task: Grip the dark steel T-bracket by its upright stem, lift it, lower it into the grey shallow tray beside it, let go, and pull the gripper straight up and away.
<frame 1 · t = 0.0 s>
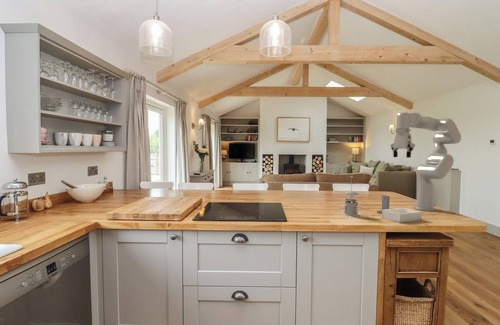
hand: (401, 157, 174), 37 cm above the countertop, tool pointing down, fingers open, 9 cm apart
french press: (350, 214, 167), on the countertop
steel bracket: (385, 213, 172), on the countertop
grey shallow tray: (401, 219, 157), on the countertop
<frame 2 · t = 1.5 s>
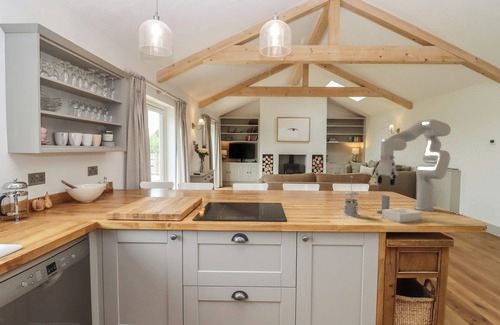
hand: (385, 184, 171), 19 cm above the countertop, tool pointing down, fingers open, 9 cm apart
nothing on the countertop moved.
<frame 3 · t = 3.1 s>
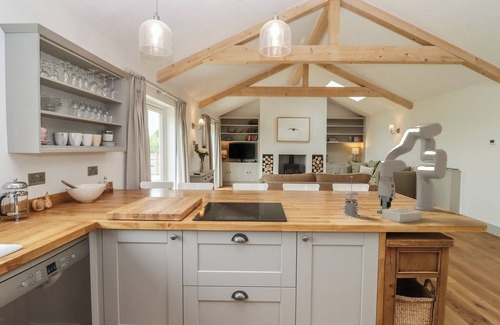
hand: (385, 206, 172), 4 cm above the countertop, tool pointing down, fingers closed on steel bracket, 4 cm apart
steel bracket: (385, 213, 172), on the countertop, touching gripper
everything else where it was.
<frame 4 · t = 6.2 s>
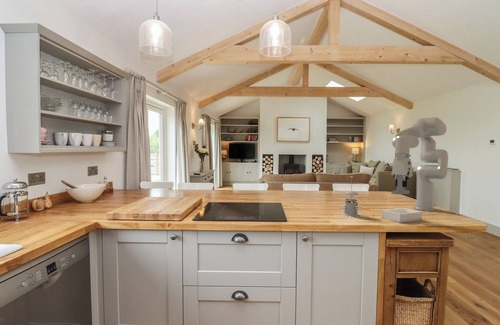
hand: (401, 186, 157), 20 cm above the countertop, tool pointing down, fingers closed on steel bracket, 4 cm apart
steel bracket: (400, 193, 157), point 15 cm above the countertop, touching gripper
everything else where it was.
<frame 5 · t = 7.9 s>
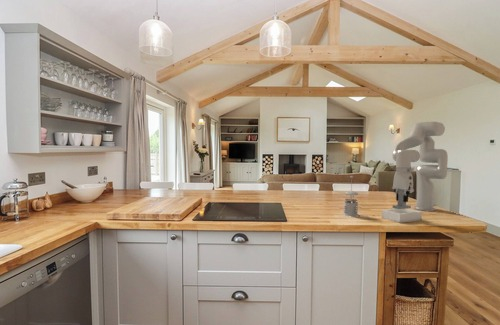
hand: (401, 200, 156), 11 cm above the countertop, tool pointing down, fingers closed on steel bracket, 4 cm apart
steel bracket: (401, 208, 156), point 7 cm above the countertop, touching gripper
everything else where it was.
when the fingers open (7 cm above the countertop, at t = 9.0 s): steel bracket drops 1 cm, resting on grey shallow tray.
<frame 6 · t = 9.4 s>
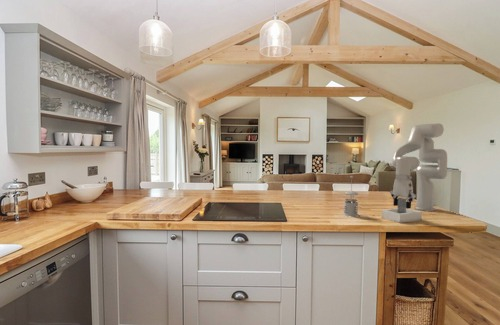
hand: (401, 206, 157), 7 cm above the countertop, tool pointing down, fingers open, 7 cm apart
steel bracket: (401, 217, 157), point 1 cm above the countertop, touching grey shallow tray
everything else where it was.
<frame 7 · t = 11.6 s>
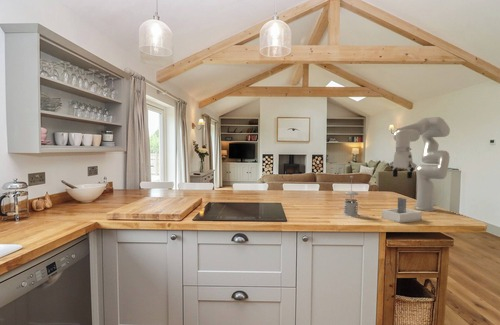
hand: (402, 177, 163), 24 cm above the countertop, tool pointing down, fingers open, 9 cm apart
nothing on the countertop moved.
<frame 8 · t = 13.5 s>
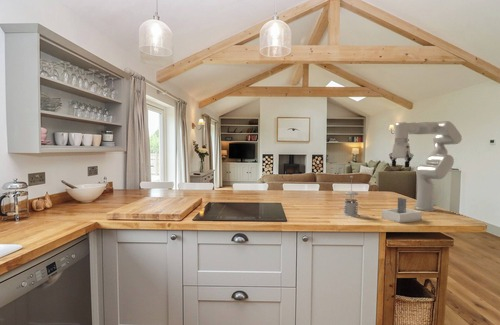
hand: (400, 167, 174), 30 cm above the countertop, tool pointing down, fingers open, 9 cm apart
nothing on the countertop moved.
at the end: steel bracket inside the target area on the grey shallow tray (0.0 cm from its centre), point 1.0 cm above the grey shallow tray's base; steel bracket tilted 0°; the gripper is holding nothing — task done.
